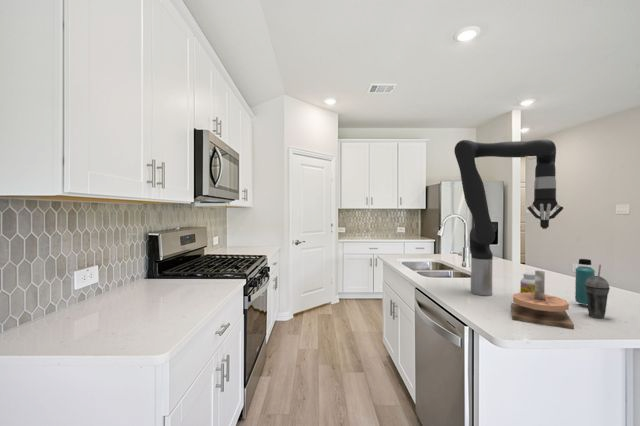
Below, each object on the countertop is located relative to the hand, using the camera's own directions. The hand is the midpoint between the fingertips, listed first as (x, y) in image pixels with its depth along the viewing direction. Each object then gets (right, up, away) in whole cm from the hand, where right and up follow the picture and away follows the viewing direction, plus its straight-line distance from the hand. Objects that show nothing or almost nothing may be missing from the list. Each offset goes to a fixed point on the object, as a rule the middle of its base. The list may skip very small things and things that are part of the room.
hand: (544, 228), depth 132 cm
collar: (-11, -28, -13) cm, 33 cm away
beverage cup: (+11, -33, -13) cm, 37 cm away
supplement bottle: (-3, -33, +5) cm, 34 cm away
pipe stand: (-11, -33, -12) cm, 37 cm away
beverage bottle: (+17, -33, 0) cm, 37 cm away
